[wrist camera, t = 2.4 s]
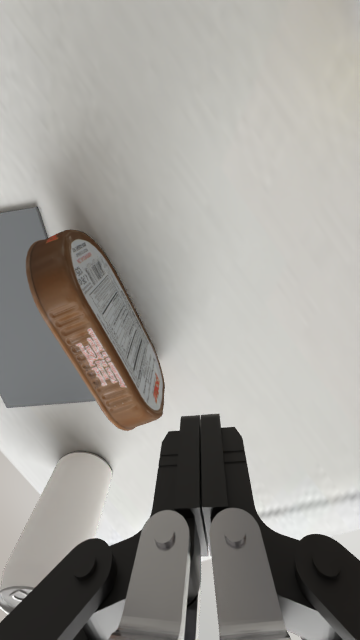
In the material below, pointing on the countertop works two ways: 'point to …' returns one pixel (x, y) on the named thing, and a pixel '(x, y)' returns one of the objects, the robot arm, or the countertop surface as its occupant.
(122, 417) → the tin
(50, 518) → the can
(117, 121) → the countertop surface
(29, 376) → the mat
